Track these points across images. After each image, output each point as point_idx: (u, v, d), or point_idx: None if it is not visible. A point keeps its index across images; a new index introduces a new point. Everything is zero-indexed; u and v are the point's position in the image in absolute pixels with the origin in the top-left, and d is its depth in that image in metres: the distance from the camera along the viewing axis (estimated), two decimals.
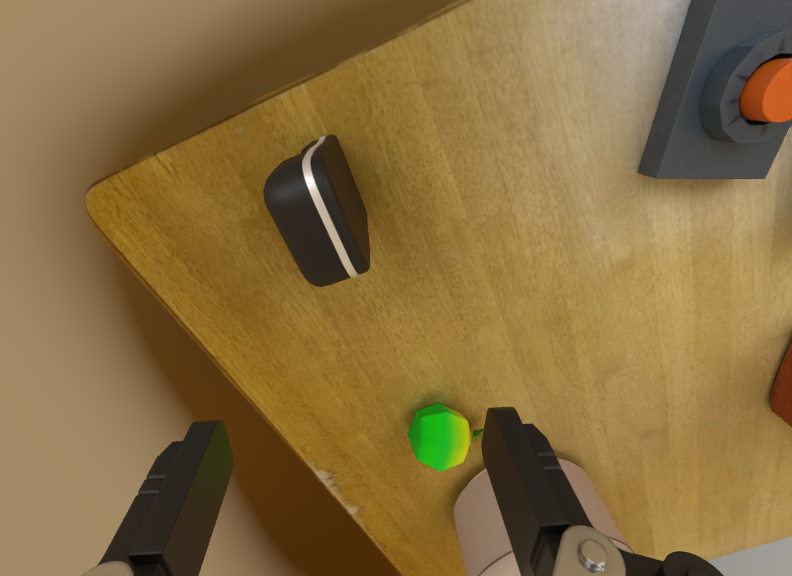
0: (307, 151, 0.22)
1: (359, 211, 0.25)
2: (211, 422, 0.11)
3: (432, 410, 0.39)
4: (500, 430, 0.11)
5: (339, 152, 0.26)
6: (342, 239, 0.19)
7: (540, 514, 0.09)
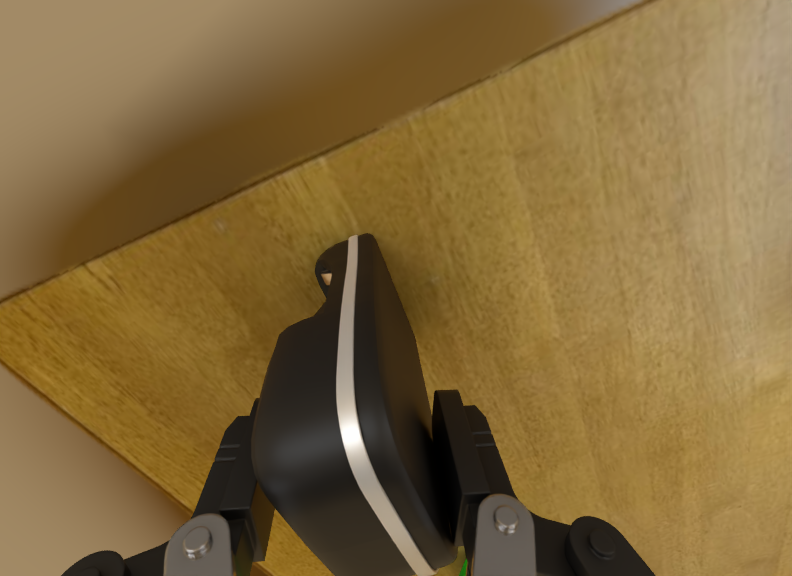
0: (337, 310, 0.12)
1: (417, 373, 0.15)
2: None
3: None
4: (441, 410, 0.11)
5: (383, 272, 0.15)
6: (419, 541, 0.09)
7: (465, 484, 0.09)
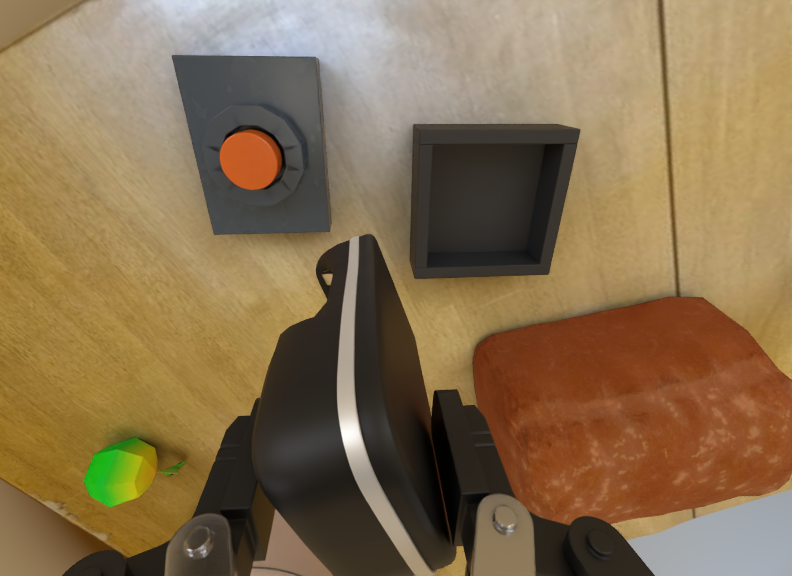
0: (338, 311, 0.12)
1: (417, 374, 0.15)
2: None
3: (114, 446, 0.40)
4: (440, 410, 0.11)
5: (384, 273, 0.15)
6: (418, 542, 0.09)
7: (464, 484, 0.09)
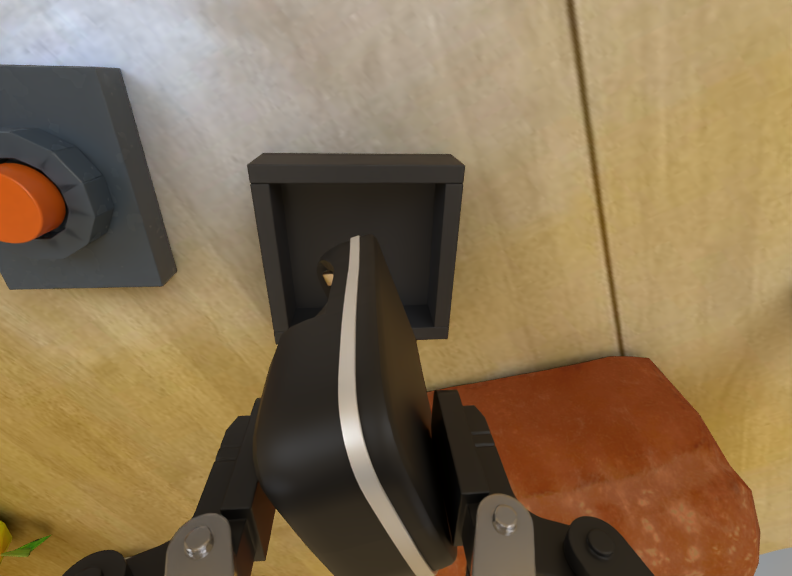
0: (338, 311, 0.12)
1: (417, 374, 0.15)
2: None
3: None
4: (440, 410, 0.11)
5: (384, 273, 0.15)
6: (419, 543, 0.09)
7: (464, 484, 0.09)
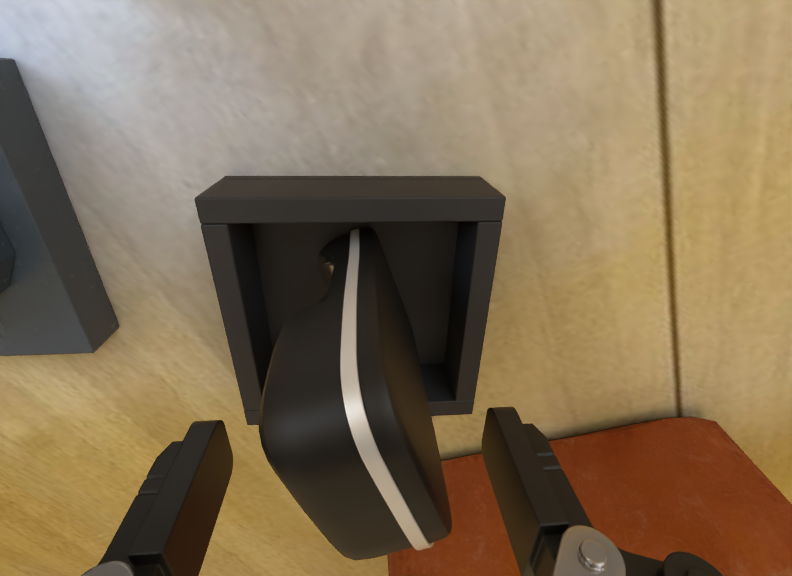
0: (340, 297, 0.12)
1: (414, 361, 0.16)
2: (211, 422, 0.11)
3: None
4: (500, 430, 0.11)
5: (383, 264, 0.16)
6: (416, 513, 0.10)
7: (540, 514, 0.09)
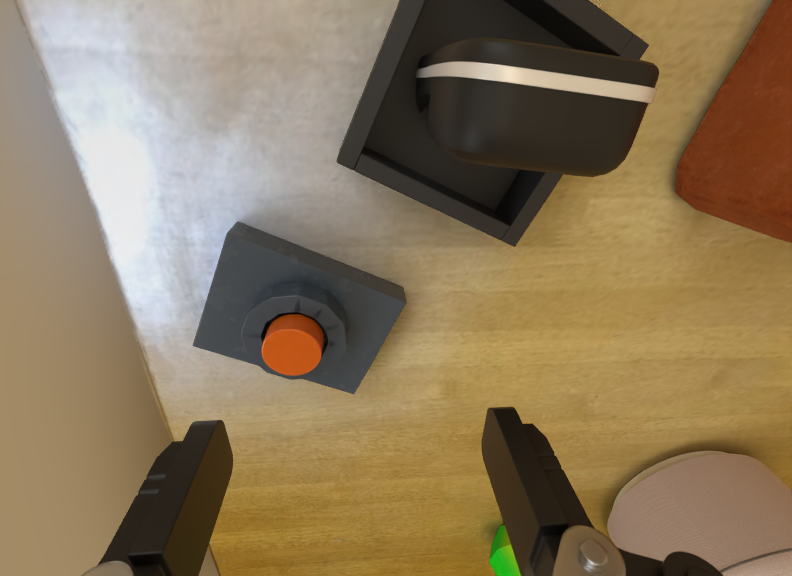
0: (432, 81, 0.15)
1: None
2: (211, 422, 0.11)
3: (494, 545, 0.42)
4: (500, 430, 0.11)
5: None
6: (595, 74, 0.11)
7: (540, 514, 0.09)
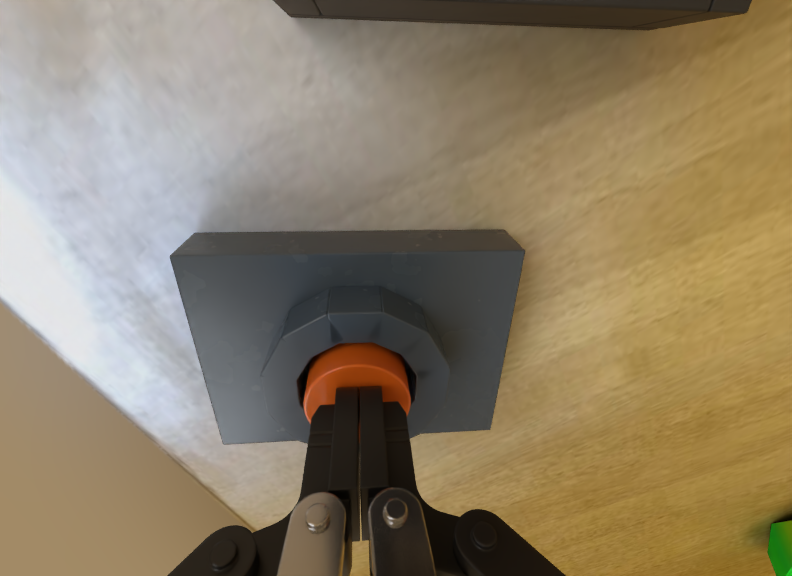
0: None
1: None
2: (352, 388, 0.12)
3: (778, 557, 0.27)
4: (360, 406, 0.11)
5: None
6: None
7: (365, 478, 0.09)
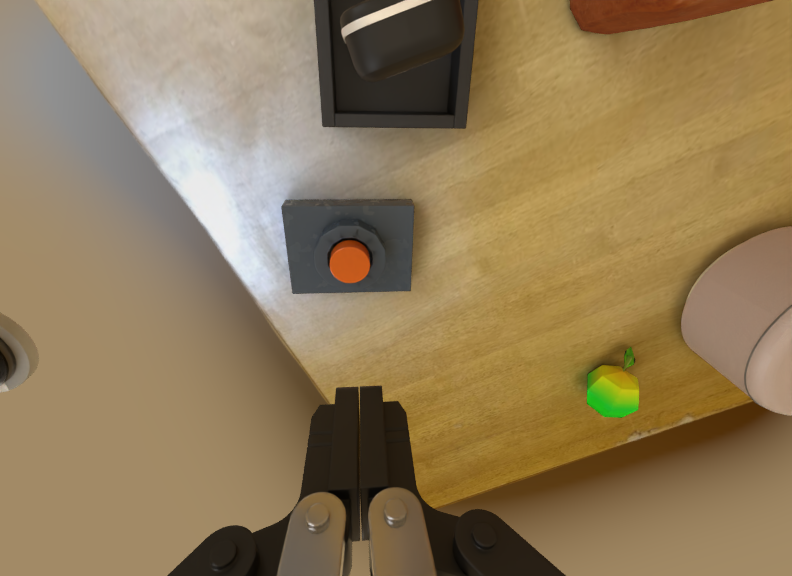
0: None
1: None
2: (352, 388, 0.12)
3: None
4: (360, 406, 0.11)
5: None
6: None
7: (365, 478, 0.09)
